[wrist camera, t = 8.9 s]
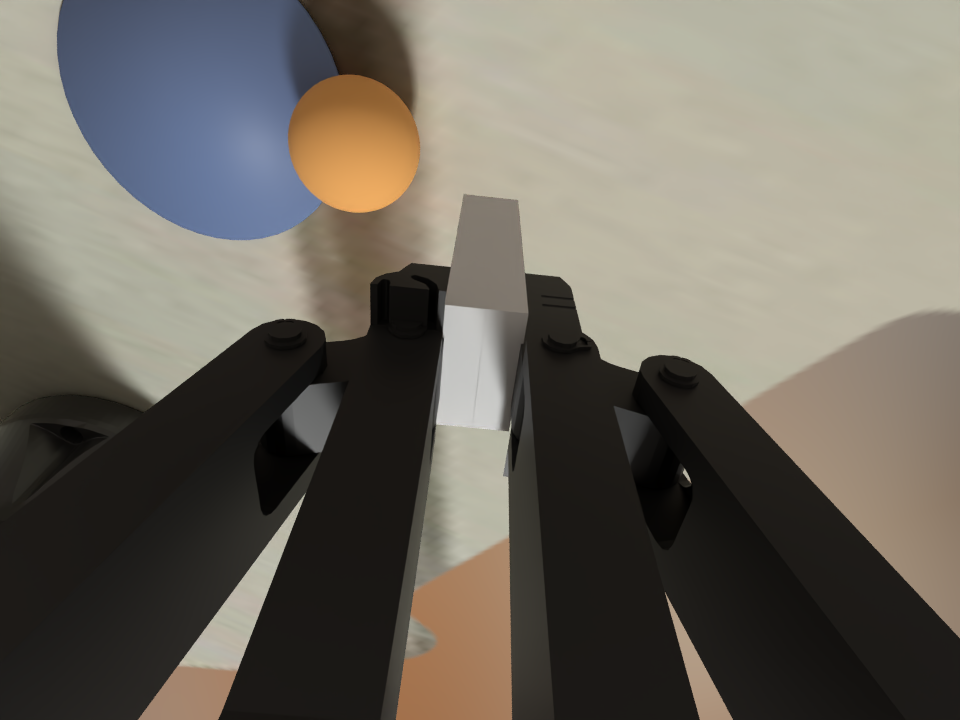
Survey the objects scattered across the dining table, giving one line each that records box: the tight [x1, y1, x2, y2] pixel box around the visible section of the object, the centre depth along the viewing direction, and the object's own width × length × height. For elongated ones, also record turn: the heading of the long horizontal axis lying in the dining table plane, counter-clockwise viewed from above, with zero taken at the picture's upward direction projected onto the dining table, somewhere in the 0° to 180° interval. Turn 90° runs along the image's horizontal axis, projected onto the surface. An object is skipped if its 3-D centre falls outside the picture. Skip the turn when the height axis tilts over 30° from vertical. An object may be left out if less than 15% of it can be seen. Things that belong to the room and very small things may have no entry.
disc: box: [57, 0, 339, 240], centre depth 26 cm, size 13×13×1 cm
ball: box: [288, 75, 420, 212], centre depth 24 cm, size 6×6×6 cm
